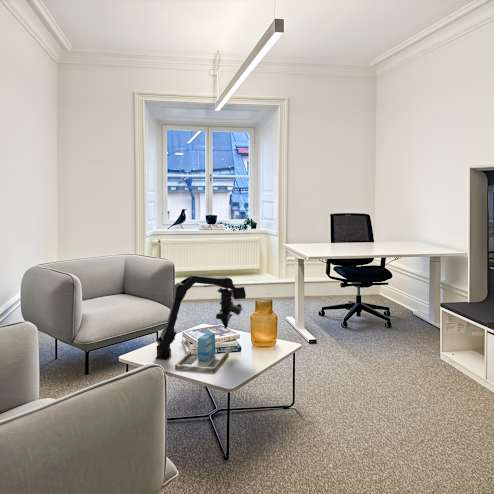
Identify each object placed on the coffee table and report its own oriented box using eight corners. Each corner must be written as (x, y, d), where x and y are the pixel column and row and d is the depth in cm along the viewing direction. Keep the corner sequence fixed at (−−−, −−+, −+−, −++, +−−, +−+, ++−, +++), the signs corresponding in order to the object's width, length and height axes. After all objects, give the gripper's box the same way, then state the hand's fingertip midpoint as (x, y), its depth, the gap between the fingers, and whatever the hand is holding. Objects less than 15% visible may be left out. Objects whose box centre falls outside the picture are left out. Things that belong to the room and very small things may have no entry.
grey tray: (175, 369, 229) (175, 365, 229) (192, 351, 254) (192, 348, 254) (214, 372, 225) (214, 368, 224) (228, 354, 250) (228, 351, 250)
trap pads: (183, 363, 237) (183, 362, 236) (189, 357, 245) (189, 356, 245) (216, 366, 233) (216, 365, 233) (221, 360, 241) (221, 359, 241)
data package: (205, 362, 239) (205, 339, 238) (197, 361, 241) (197, 338, 239) (215, 354, 250) (215, 332, 249) (207, 353, 252) (207, 332, 250)
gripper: (236, 304, 243) (236, 334, 245) (244, 297, 261) (244, 324, 263) (215, 303, 245) (215, 332, 247) (225, 296, 263) (225, 323, 265)
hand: (226, 328), depth 255 cm, fingers closed
